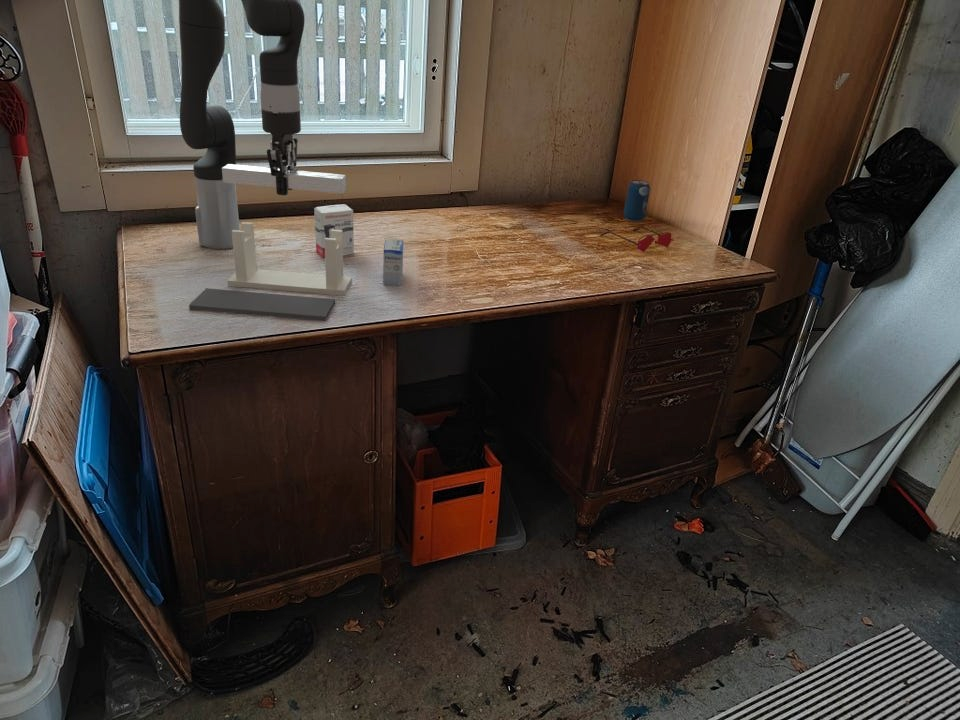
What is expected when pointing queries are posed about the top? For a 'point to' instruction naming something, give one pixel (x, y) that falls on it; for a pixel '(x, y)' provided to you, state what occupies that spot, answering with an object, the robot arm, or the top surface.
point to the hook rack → (288, 280)
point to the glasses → (649, 239)
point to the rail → (294, 178)
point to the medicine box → (393, 262)
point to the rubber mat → (263, 304)
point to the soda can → (636, 200)
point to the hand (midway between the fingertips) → (285, 191)
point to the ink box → (334, 226)
